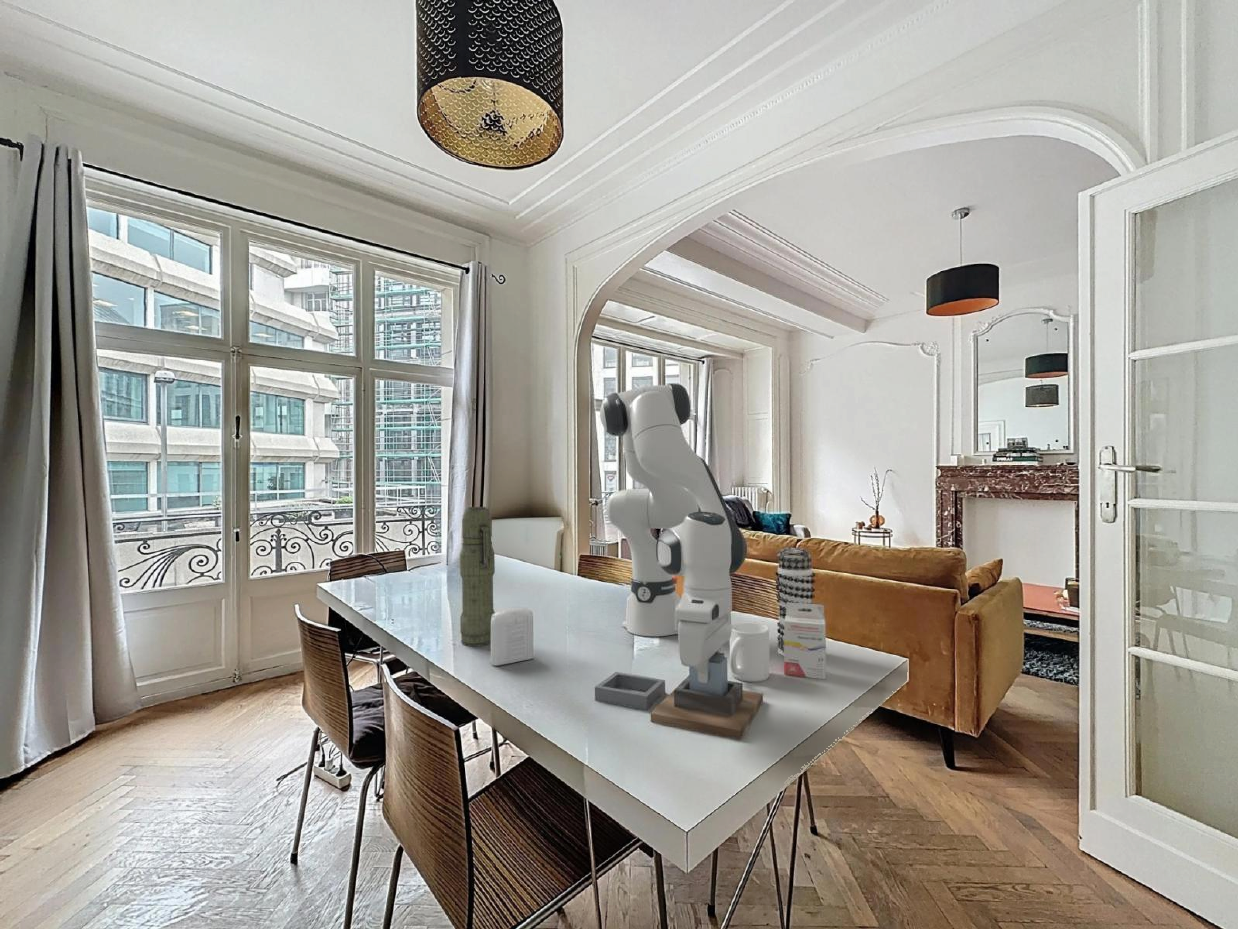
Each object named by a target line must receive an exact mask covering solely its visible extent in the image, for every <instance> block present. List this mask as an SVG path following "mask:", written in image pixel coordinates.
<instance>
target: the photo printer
mask: <svg viewBox="0 0 1238 929" xmlns="http://www.w3.org/2000/svg"><path fill="white" fill-rule="evenodd" d="M532 659H534V613H533V611H532V609H530V608H528V607H527V608H526V607H519V606H518V607H517V606H516V607H508V608H504V609H502V610H499V611H497V612H495V614H493V615H492V616H491V643H490V664H491V665H492V666H494V667H495V666H496V667H497V666H502V665H503V666H504V665H508V664H513V663H518V662H523V661H527V660H532Z"/></svg>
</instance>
